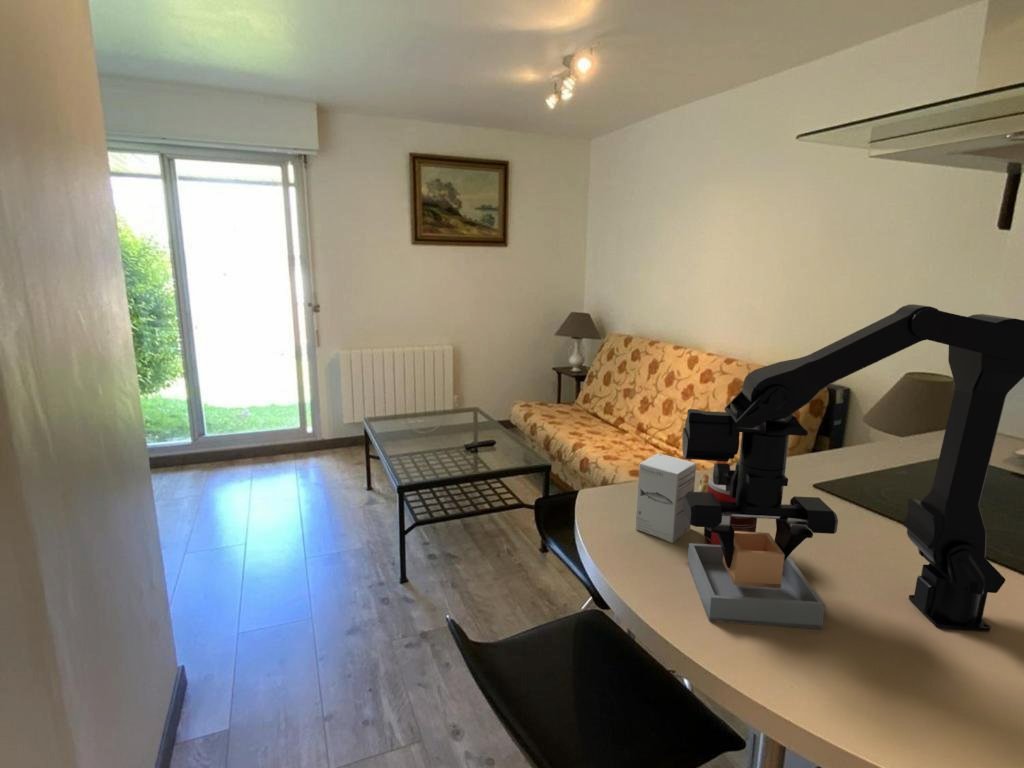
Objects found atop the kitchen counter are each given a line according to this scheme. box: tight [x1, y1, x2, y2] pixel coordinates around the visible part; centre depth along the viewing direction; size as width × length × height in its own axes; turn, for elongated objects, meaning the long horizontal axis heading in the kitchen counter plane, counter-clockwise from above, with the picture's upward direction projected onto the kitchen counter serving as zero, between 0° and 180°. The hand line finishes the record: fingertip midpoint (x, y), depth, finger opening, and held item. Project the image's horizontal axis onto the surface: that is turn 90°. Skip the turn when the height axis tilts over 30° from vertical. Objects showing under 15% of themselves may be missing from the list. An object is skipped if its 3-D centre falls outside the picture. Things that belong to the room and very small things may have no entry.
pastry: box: [698, 473, 713, 492], centre depth 110 cm, size 9×7×4 cm
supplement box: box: [634, 452, 698, 544], centre depth 94 cm, size 7×7×13 cm
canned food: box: [703, 476, 758, 545], centre depth 89 cm, size 8×8×11 cm
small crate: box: [723, 531, 785, 588], centre depth 75 cm, size 6×6×5 cm
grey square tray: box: [687, 543, 826, 630], centre depth 76 cm, size 14×14×4 cm
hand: (751, 567), depth 76 cm, fingers closed on small crate, 6 cm apart
